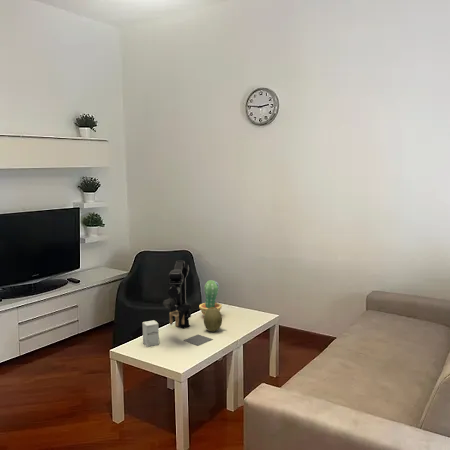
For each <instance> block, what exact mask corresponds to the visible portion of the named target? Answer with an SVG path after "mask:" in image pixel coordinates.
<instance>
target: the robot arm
mask: <svg viewBox="0 0 450 450" xmlns="http://www.w3.org/2000/svg"><path fill="white" fill-rule="evenodd" d="M189 266H190V265H189V264H188V263H187V262H185V260H176V261H175V264H174V268H173V269H172V270H170V272H169V273H168V281H167V285H169V286H170V288H169V290H168V291H167V294H168V296H169V297H168V298H166V299H163V300H162V303H161V304H162V306H163V307H164V308H165V309H168V310H169V313H170V312H173V311H176V310H177V311H178V312H179V322H178V326H177V328H181V329H185V328H188V327H191V324H190V322H189V321H190V318H191V317H192V312H191V310H192V305H191V304H190V303H188V302H187V293H186V292H187V291H186V290H187V281H186V280H187V279H186V278H187V276H188V275H189V272H190V267H189ZM183 315H184V324H182V323H181V320H182V318H183ZM172 317H173V319H175V316H172Z"/></svg>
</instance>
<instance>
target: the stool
mask: <svg viewBox="0 0 450 450" xmlns="http://www.w3.org/2000/svg"><path fill="white" fill-rule="evenodd" d="M172 316H175V317H174V318H173V317H172ZM173 319H174V320H175V321H174V322H175V325H174V326H175V327H177V326H178V322H179V312H178V311H177V310H176V311H173V312H170V311H169V325H171V326H172V325H173V323H174V322H173ZM181 323H182V324H184V315H183V318H182V320H181ZM177 328H178V327H177Z"/></svg>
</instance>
